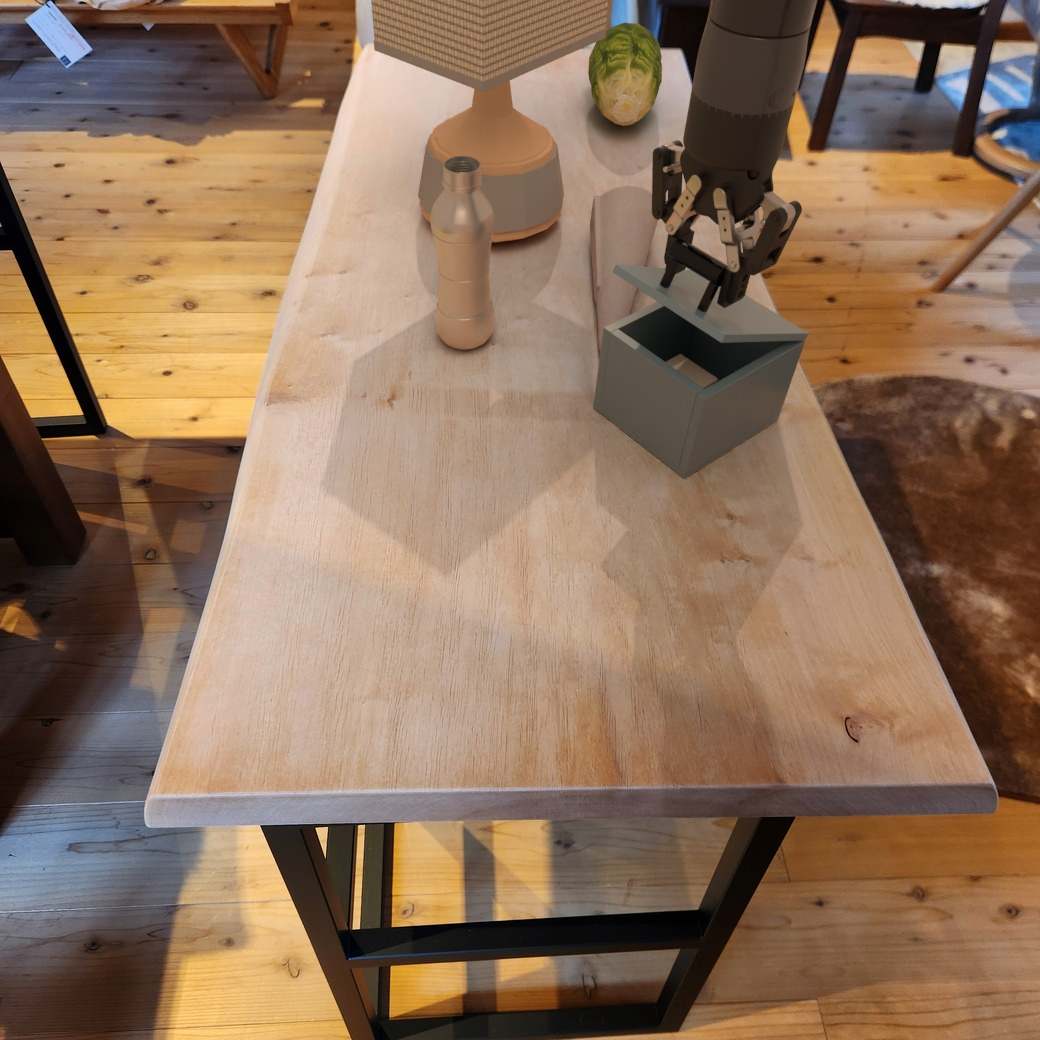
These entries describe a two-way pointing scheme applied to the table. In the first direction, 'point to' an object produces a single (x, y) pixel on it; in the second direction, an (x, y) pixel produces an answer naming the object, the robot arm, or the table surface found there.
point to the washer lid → (707, 298)
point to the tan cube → (692, 371)
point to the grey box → (689, 387)
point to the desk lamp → (492, 93)
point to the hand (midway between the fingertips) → (701, 285)
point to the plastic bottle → (463, 255)
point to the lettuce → (625, 73)
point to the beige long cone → (618, 248)
